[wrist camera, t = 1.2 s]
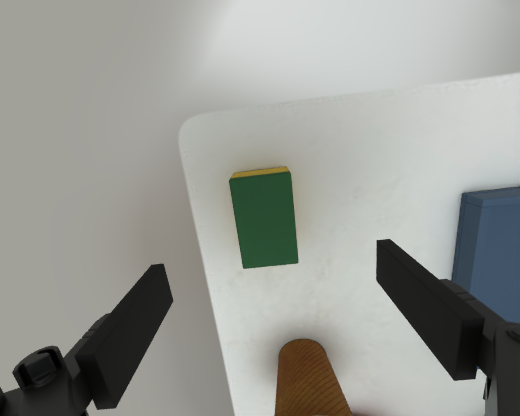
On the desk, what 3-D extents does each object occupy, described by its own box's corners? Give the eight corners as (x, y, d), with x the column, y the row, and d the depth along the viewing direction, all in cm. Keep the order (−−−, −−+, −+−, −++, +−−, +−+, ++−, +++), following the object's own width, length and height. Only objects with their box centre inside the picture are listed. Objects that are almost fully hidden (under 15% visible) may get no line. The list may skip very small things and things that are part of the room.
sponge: (233, 172, 26) (228, 180, 22) (286, 166, 25) (290, 172, 22) (245, 250, 28) (243, 269, 25) (293, 245, 28) (298, 263, 24)
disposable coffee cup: (309, 315, 31) (336, 424, 19) (352, 361, 33) (399, 483, 22) (251, 353, 33) (245, 472, 21) (295, 394, 35) (311, 523, 23)
